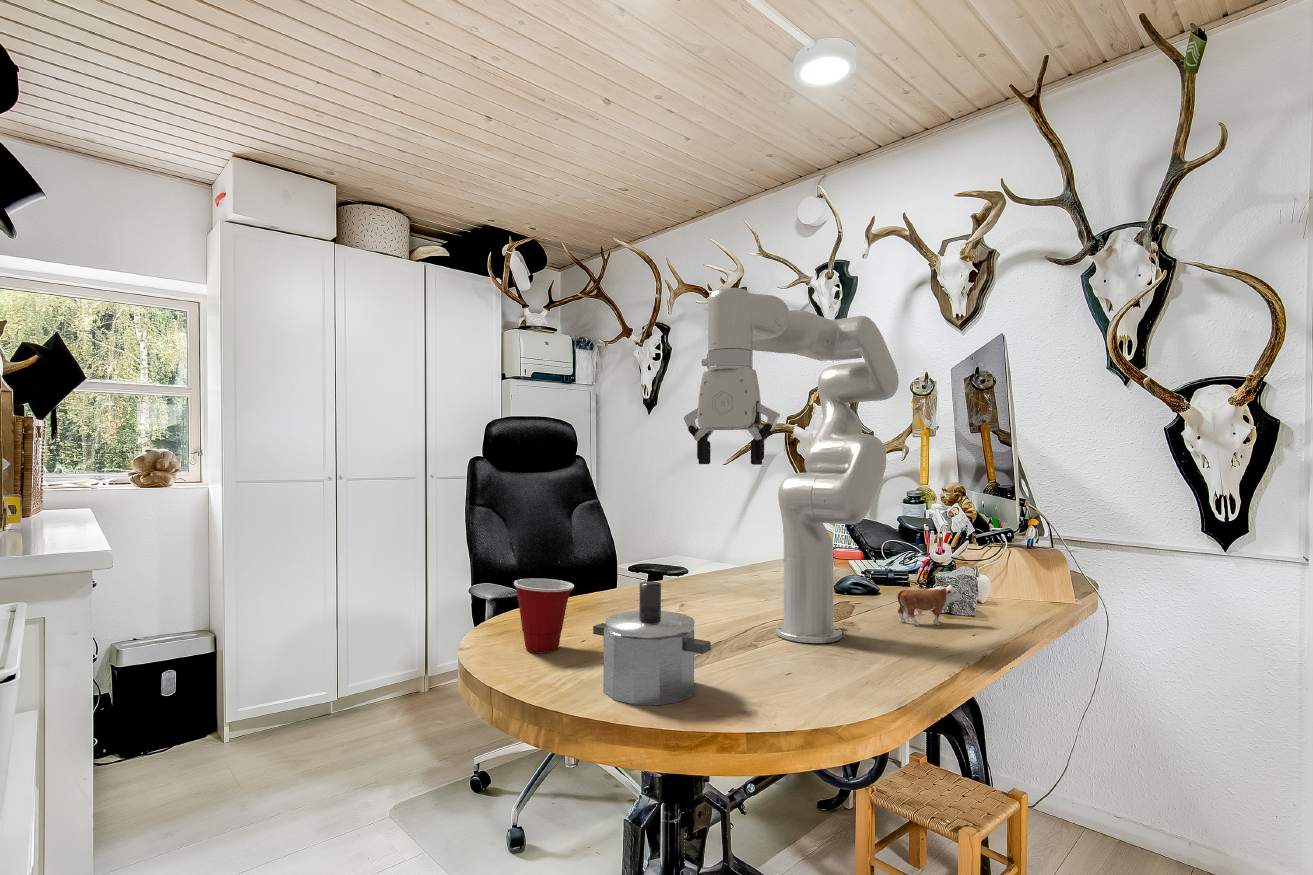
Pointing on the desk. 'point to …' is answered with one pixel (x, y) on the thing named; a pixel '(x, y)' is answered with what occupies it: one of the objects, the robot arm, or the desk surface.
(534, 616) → the plastic cup
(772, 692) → the desk surface
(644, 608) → the lid
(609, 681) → the pot
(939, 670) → the desk surface
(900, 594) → the bull figurine
